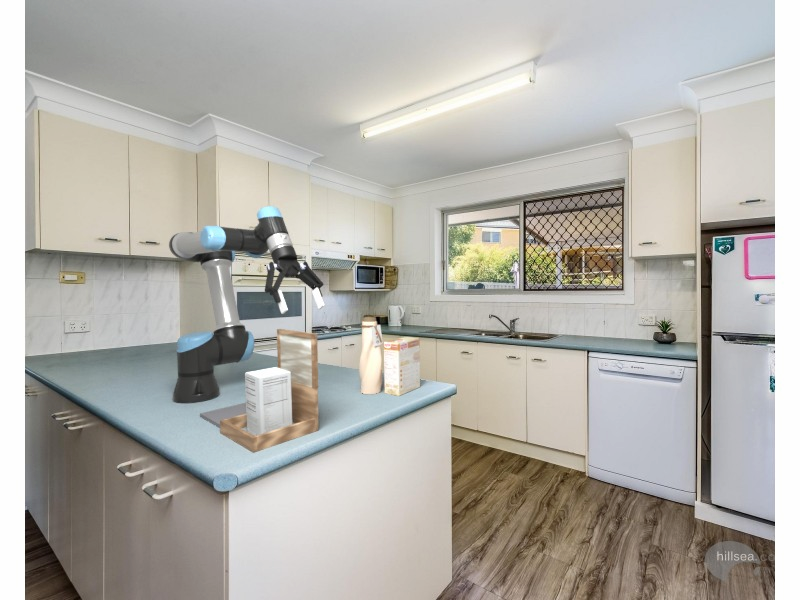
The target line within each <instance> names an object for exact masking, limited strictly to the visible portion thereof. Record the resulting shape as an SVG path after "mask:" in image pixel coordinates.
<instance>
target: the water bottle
mask: <svg viewBox="0 0 800 600" xmlns="http://www.w3.org/2000/svg"><path fill="white" fill-rule="evenodd" d="M359 326H360V327H361V352H360V356H359V365H358V374H359V381H360V383H361V384H360V385H361V386H360V391H361V392H360V393H361V394H362V393H363V395H376V393H377V394H380V393H381V391H382V384H383V369H382V365H383V354H382V347H381V345H384V341H383V336H382V328H381V324H378V321H377V318H376V317H374V316H373V317H371V316H370V317H369V316H368V317H366V316H364V317H363V318H362V321H361V324H359ZM379 392H380V393H379Z"/></svg>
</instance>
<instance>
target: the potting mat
mask: <svg viewBox="0 0 800 600" xmlns="http://www.w3.org/2000/svg"><path fill="white" fill-rule="evenodd" d="M243 414H247V413H246V402H242V403H239V404H234V405H231V406H226V407H222V408H217V409H214V410H209V411H206V412H204V411H203V412H200V413H199V417H200V418H201V417H202V418H201V419H203V420H205V421H207V422H208V421H209V423H211V424H212V425H213V426H215V425H216V426H215V427H217V428H219V429H220V420H224V419H228V418H231V417H235V416H239V415H243Z"/></svg>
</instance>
